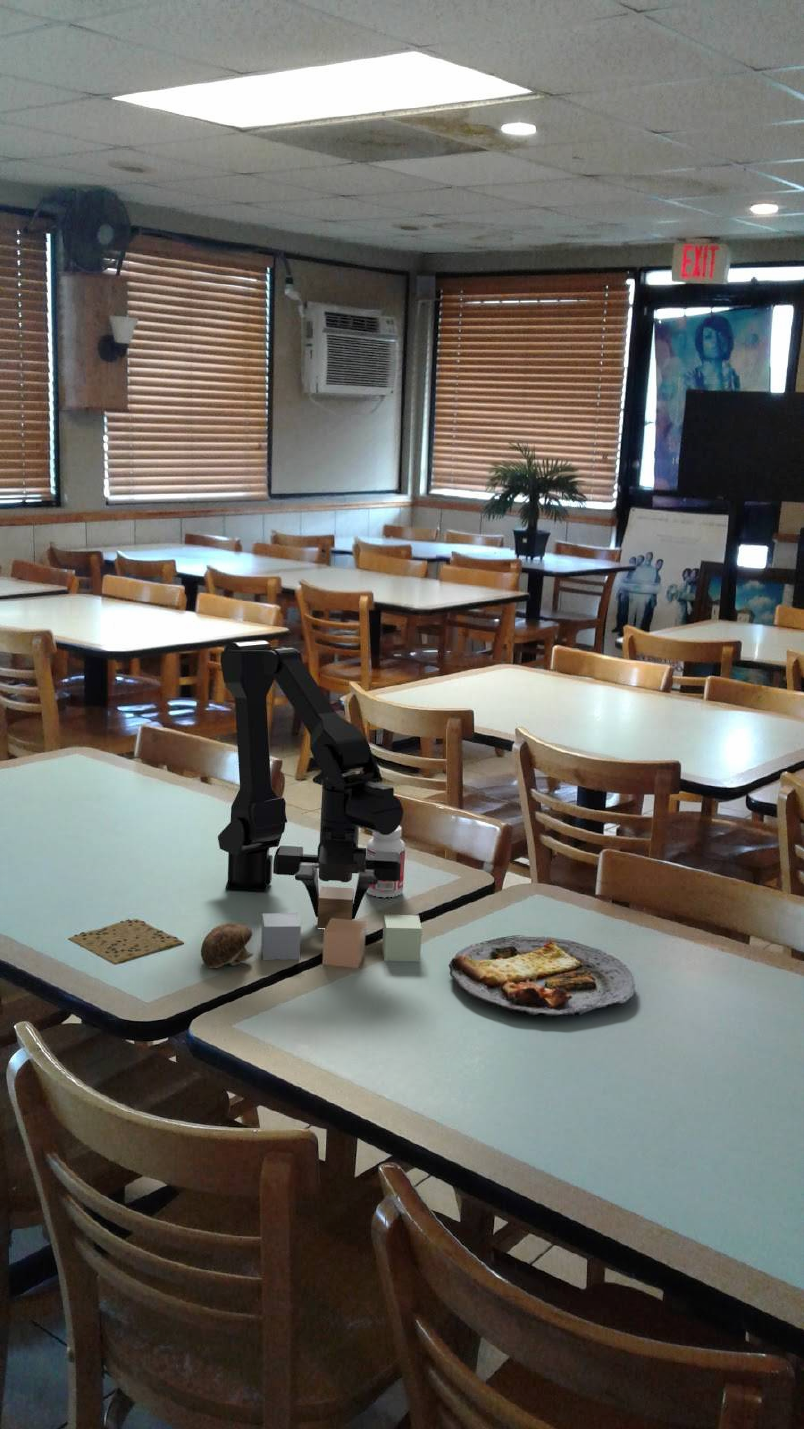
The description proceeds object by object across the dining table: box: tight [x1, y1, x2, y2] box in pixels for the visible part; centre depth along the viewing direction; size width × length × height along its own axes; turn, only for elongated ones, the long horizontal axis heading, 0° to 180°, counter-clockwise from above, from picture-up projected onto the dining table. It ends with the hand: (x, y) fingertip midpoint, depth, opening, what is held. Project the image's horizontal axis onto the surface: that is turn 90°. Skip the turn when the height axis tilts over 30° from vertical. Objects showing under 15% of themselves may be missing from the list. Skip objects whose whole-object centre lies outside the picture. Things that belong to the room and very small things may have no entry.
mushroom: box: [200, 922, 254, 969], centre depth 172 cm, size 8×8×6 cm
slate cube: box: [260, 912, 302, 961], centre depth 177 cm, size 5×5×5 cm
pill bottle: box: [366, 825, 406, 899], centre depth 203 cm, size 6×6×11 cm
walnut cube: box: [316, 886, 355, 929], centre depth 189 cm, size 5×5×5 cm
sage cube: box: [381, 914, 423, 963], centre depth 179 cm, size 5×5×5 cm
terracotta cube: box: [321, 918, 367, 969], centre depth 176 cm, size 5×5×5 cm
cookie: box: [67, 918, 185, 965], centre depth 179 cm, size 12×12×1 cm
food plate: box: [448, 934, 636, 1017], centre depth 172 cm, size 25×23×4 cm
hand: (335, 917), depth 189 cm, fingers closed on walnut cube, 5 cm apart
